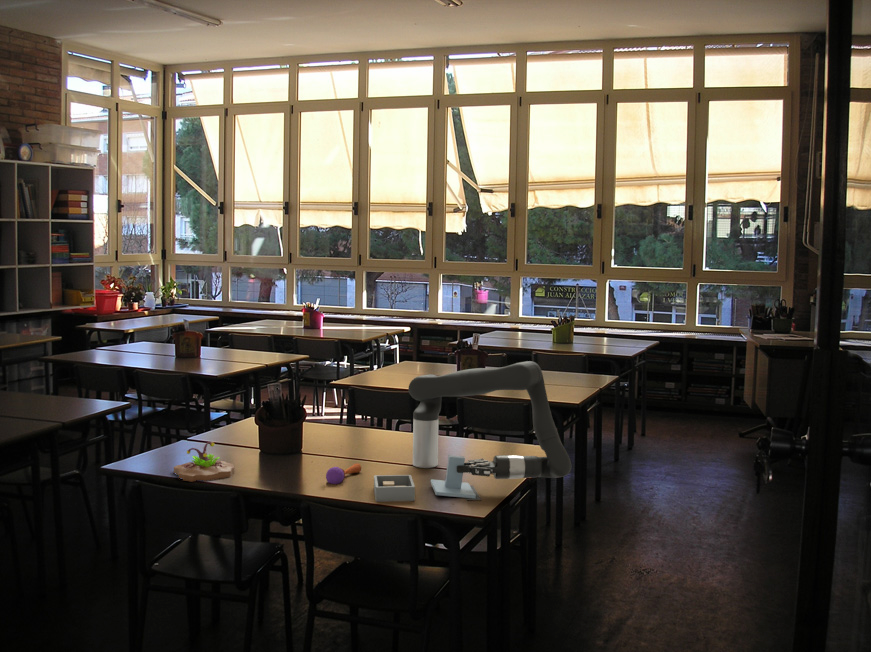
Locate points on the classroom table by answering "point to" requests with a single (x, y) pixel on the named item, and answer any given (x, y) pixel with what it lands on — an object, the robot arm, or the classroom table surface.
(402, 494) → the parts tub
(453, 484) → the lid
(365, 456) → the classroom table surface
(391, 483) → the wooden block
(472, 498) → the rubber mat
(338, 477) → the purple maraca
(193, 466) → the plant
